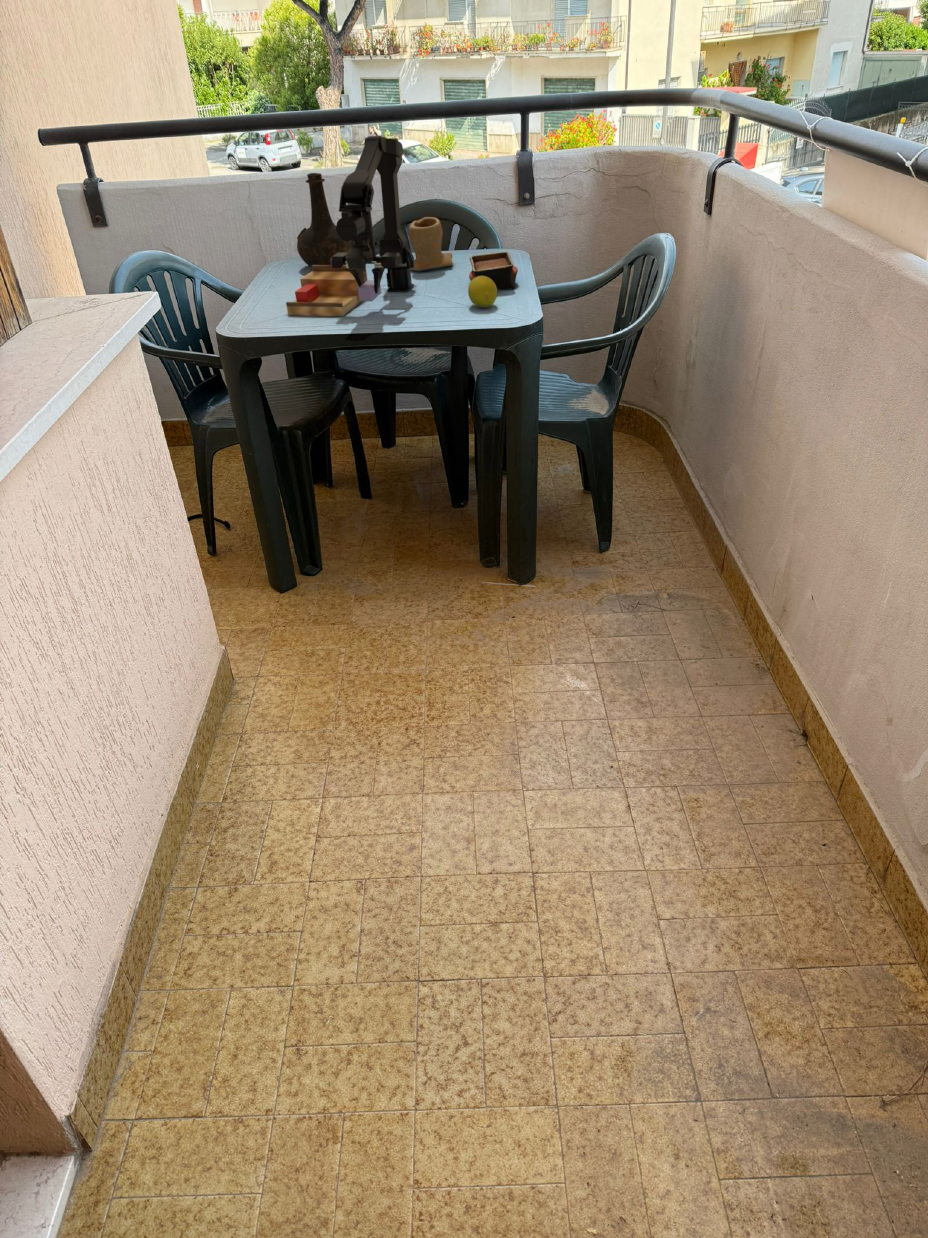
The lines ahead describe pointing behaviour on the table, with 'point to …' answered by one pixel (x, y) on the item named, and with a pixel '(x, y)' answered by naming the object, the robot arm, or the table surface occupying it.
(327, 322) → the table surface
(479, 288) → the lemon
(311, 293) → the red nougat bar
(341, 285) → the pine rack
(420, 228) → the tan hollow boot-shaped piece
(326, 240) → the glass bottle
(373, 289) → the lilac nougat bar
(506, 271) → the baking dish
